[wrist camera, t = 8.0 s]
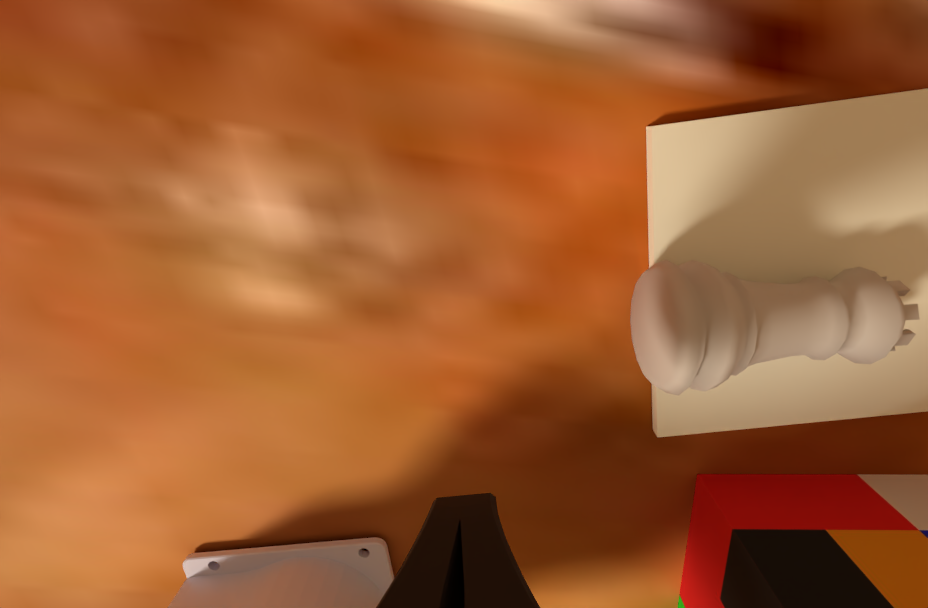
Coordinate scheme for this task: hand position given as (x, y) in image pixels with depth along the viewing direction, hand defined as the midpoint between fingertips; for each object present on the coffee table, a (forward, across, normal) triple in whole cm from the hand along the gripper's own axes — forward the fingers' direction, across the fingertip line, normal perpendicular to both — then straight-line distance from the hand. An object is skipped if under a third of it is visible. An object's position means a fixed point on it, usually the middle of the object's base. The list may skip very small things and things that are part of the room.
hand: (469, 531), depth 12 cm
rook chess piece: (+6, -6, -2) cm, 9 cm away
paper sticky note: (+9, -12, -2) cm, 16 cm away
